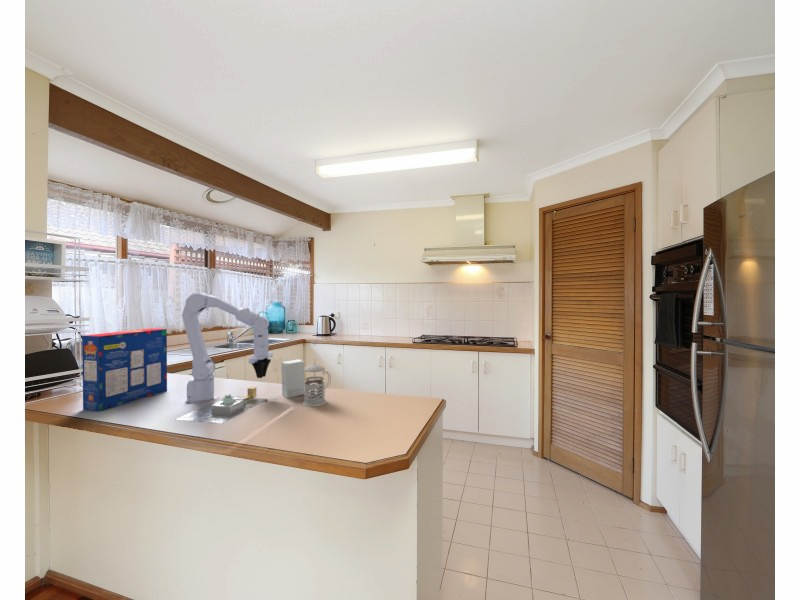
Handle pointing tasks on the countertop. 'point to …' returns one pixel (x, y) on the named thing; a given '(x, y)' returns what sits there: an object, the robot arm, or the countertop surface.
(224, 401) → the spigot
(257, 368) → the robot arm
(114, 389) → the blue flat upright box
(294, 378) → the skincare box
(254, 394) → the pin
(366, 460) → the countertop surface
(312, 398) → the french press
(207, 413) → the dock
